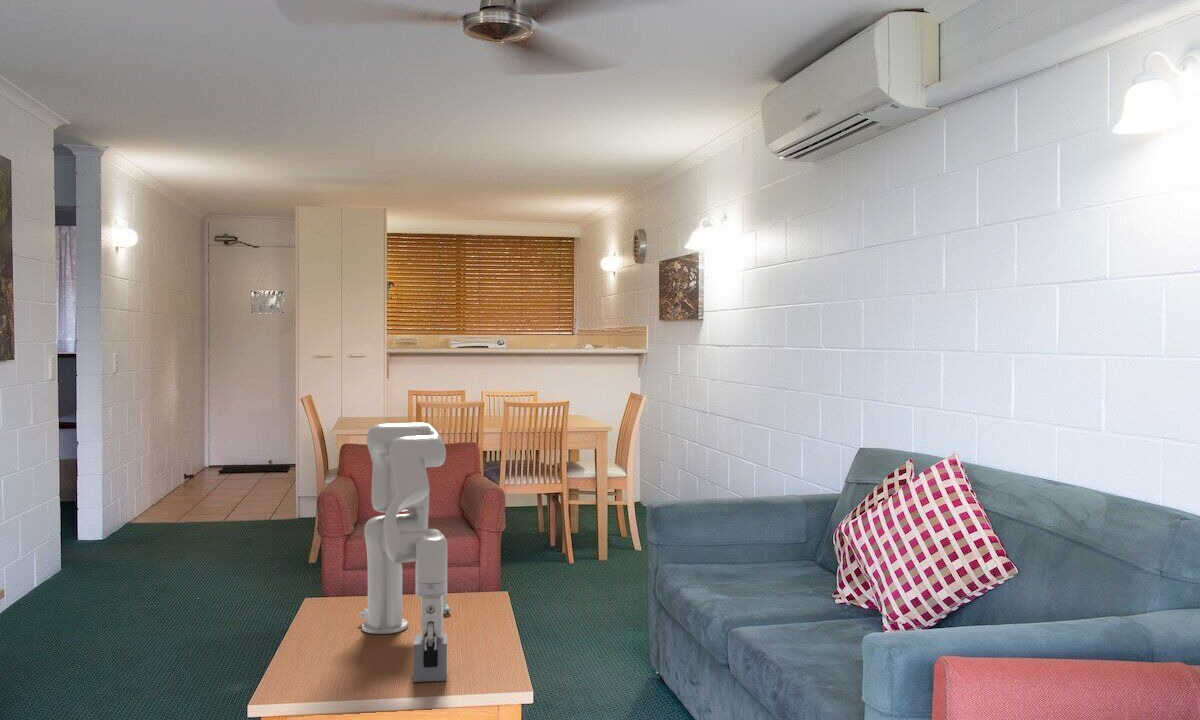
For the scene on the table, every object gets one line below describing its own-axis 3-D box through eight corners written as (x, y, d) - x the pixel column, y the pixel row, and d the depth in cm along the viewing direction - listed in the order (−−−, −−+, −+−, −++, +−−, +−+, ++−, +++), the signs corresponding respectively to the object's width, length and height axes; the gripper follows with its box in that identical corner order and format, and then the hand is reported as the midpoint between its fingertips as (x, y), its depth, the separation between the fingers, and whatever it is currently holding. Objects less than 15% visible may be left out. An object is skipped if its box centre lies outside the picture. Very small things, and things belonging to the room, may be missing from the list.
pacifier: (431, 618, 270) (451, 615, 272) (430, 597, 270) (451, 594, 272) (428, 611, 277) (448, 609, 279) (427, 590, 277) (447, 588, 279)
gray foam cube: (413, 682, 217) (413, 644, 217) (414, 670, 224) (415, 634, 224) (446, 680, 218) (446, 643, 218) (446, 669, 225) (447, 633, 225)
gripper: (446, 596, 213) (446, 672, 213) (447, 578, 230) (447, 648, 230) (413, 598, 212) (413, 674, 212) (417, 579, 229) (416, 649, 229)
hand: (431, 660), depth 221 cm, fingers closed on gray foam cube, 7 cm apart
